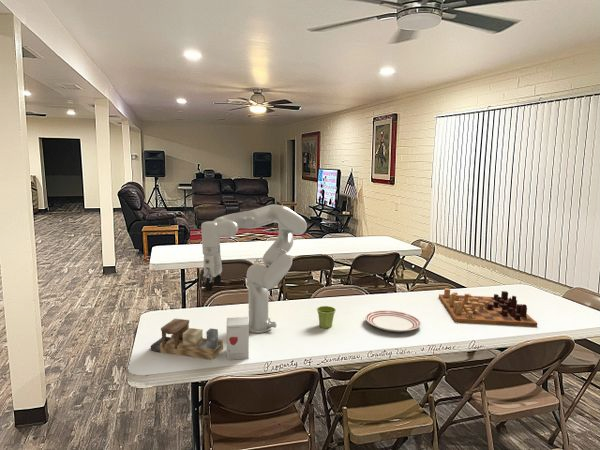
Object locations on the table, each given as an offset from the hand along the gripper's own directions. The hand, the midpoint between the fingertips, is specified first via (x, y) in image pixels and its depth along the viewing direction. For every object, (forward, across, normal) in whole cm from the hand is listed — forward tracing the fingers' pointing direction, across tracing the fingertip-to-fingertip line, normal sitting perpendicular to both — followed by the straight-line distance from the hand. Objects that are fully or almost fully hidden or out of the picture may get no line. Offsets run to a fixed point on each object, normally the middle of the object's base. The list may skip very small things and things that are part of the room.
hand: (213, 287), depth 189 cm
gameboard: (+31, +69, -129) cm, 150 cm away
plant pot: (+27, +28, -46) cm, 60 cm away
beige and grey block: (+22, -13, +1) cm, 25 cm away
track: (+24, -12, +8) cm, 28 cm away
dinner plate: (+28, +37, -79) cm, 92 cm away
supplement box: (+25, -12, -14) cm, 31 cm away
